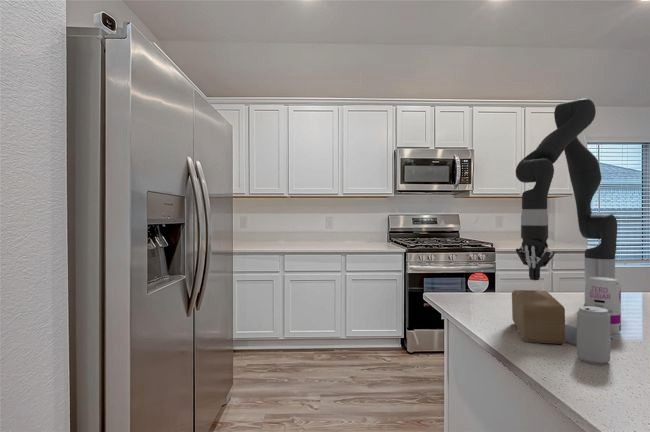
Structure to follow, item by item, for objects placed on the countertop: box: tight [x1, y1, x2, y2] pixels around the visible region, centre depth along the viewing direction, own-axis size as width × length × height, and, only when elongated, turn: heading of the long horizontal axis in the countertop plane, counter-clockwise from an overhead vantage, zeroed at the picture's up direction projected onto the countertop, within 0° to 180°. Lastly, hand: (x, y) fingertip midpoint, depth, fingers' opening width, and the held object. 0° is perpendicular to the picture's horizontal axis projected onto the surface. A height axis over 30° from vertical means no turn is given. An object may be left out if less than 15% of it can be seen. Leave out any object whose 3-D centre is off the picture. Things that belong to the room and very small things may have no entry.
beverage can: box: [576, 305, 611, 365], centre depth 93 cm, size 6×6×12 cm
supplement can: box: [585, 277, 622, 336], centre depth 116 cm, size 8×8×15 cm
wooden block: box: [511, 289, 566, 345], centre depth 114 cm, size 10×10×20 cm
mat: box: [565, 324, 614, 346], centre depth 114 cm, size 14×18×1 cm
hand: (534, 279), depth 126 cm, fingers closed
